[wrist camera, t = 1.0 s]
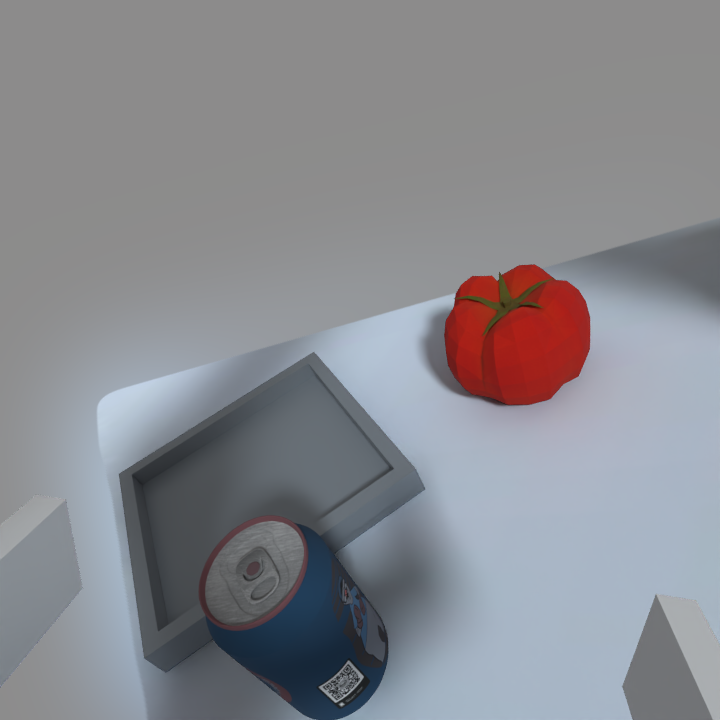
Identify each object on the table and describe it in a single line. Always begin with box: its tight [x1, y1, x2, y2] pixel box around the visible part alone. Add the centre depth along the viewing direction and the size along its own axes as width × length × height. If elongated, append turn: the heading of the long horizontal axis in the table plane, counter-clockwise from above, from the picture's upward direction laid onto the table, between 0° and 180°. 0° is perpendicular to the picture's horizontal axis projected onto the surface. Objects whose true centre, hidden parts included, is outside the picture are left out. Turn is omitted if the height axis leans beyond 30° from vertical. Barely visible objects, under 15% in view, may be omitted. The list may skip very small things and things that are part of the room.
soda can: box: [198, 515, 388, 720], centre depth 29 cm, size 7×7×12 cm
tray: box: [119, 352, 425, 672], centre depth 45 cm, size 22×20×2 cm
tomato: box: [444, 265, 590, 405], centre depth 43 cm, size 11×12×9 cm
